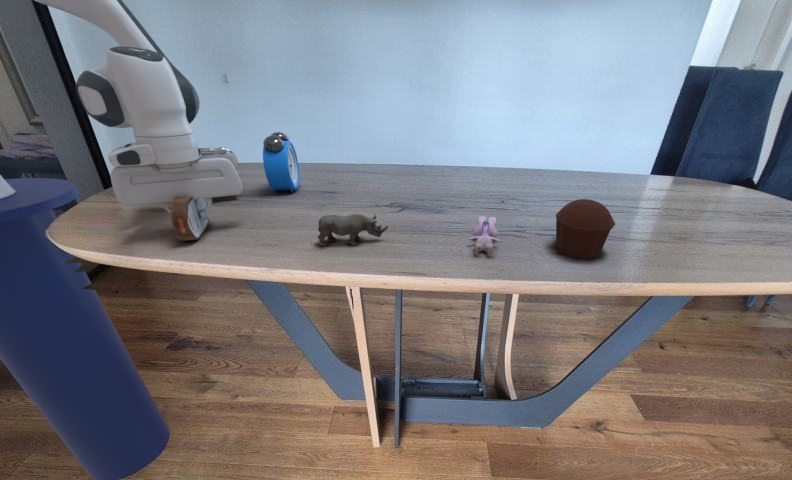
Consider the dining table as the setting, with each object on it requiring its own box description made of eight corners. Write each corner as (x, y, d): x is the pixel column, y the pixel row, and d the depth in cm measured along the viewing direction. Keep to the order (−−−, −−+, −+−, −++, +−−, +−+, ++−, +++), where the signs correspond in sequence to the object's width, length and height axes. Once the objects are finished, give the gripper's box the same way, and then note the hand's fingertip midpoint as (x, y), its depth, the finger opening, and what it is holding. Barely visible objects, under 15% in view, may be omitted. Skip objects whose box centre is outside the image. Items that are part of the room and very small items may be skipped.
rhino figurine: (389, 244, 75) (387, 216, 72) (317, 248, 72) (312, 218, 69) (388, 236, 78) (386, 209, 75) (320, 239, 75) (315, 211, 73)
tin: (199, 220, 82) (186, 183, 78) (215, 219, 83) (203, 182, 79) (179, 248, 70) (162, 205, 66) (198, 246, 71) (182, 204, 67)
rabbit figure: (498, 263, 72) (501, 224, 83) (500, 237, 68) (503, 200, 79) (466, 261, 72) (473, 222, 84) (467, 235, 68) (474, 198, 80)
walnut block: (199, 203, 92) (191, 179, 89) (199, 191, 101) (192, 169, 98) (235, 199, 96) (229, 176, 93) (232, 187, 105) (227, 166, 102)
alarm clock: (293, 196, 100) (282, 138, 92) (269, 197, 99) (255, 137, 91) (302, 183, 111) (292, 130, 103) (280, 183, 110) (269, 130, 102)
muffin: (611, 265, 70) (625, 215, 65) (552, 259, 71) (560, 209, 66) (601, 240, 80) (612, 195, 75) (549, 236, 81) (557, 191, 76)
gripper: (233, 143, 76) (249, 208, 82) (103, 150, 66) (133, 223, 73) (235, 149, 71) (252, 217, 78) (95, 157, 61) (129, 234, 68)
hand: (194, 220), depth 75 cm, fingers closed on tin, 3 cm apart
